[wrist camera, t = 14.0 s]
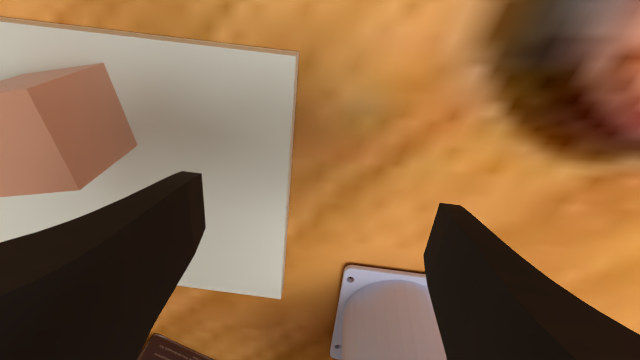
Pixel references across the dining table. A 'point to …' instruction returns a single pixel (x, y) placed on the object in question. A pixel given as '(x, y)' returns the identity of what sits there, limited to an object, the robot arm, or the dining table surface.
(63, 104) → the peach colored cube
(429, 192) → the dining table surface
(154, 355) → the box
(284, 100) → the board
